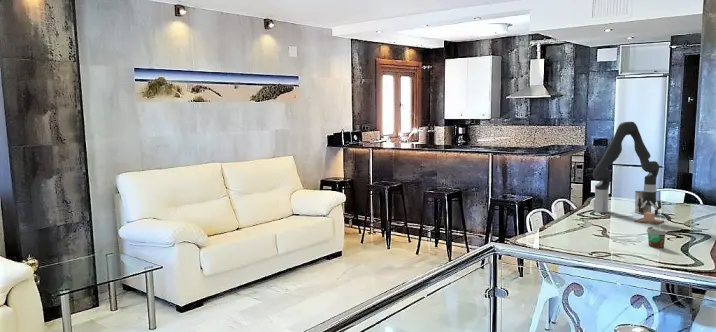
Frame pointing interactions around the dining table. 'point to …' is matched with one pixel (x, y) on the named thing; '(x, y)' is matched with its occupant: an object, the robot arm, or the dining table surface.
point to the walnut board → (649, 221)
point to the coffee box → (637, 209)
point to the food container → (656, 237)
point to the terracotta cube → (649, 216)
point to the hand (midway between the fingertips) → (649, 214)
